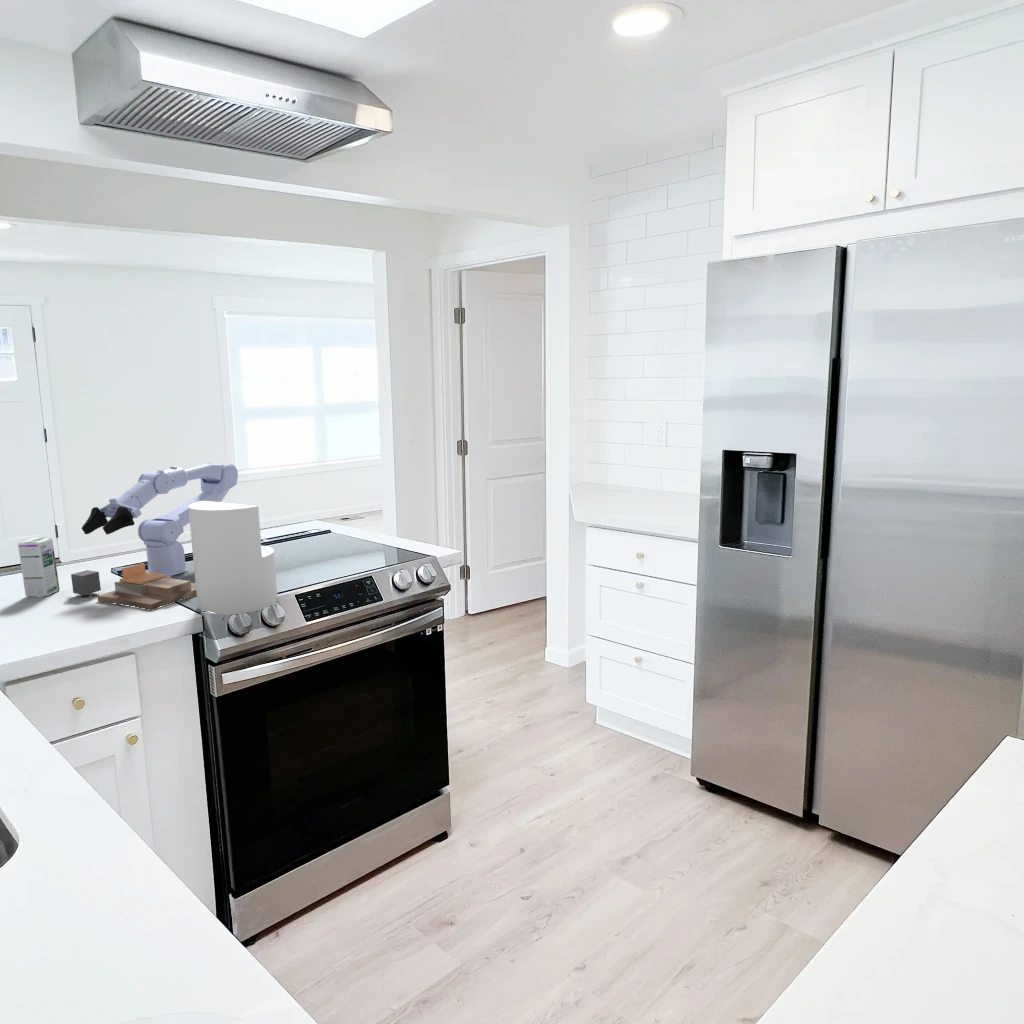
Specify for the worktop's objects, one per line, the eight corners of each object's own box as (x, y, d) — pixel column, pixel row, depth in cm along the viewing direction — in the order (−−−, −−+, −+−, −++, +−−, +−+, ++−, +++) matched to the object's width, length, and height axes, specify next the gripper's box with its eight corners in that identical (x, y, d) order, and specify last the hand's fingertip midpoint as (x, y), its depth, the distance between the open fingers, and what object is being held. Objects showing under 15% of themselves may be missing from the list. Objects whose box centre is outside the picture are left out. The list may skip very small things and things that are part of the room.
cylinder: (230, 619, 181) (221, 513, 176) (181, 606, 191) (171, 505, 186) (293, 598, 196) (286, 500, 191) (245, 588, 206) (238, 494, 202)
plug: (83, 590, 206) (81, 569, 205) (101, 593, 203) (98, 571, 202) (67, 595, 202) (65, 573, 201) (85, 598, 199) (82, 576, 198)
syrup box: (47, 596, 201) (39, 541, 198) (24, 597, 201) (17, 542, 198) (60, 590, 207) (53, 537, 204) (38, 590, 207) (31, 537, 204)
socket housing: (157, 583, 212) (156, 569, 211) (209, 590, 204) (207, 575, 203) (98, 601, 196) (96, 586, 195) (151, 610, 188) (149, 594, 187)
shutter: (146, 573, 206) (145, 562, 205) (166, 576, 203) (165, 564, 202) (119, 581, 199) (118, 569, 198) (140, 584, 196) (139, 572, 195)
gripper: (105, 489, 210) (66, 518, 200) (144, 488, 205) (107, 518, 194) (118, 511, 214) (81, 540, 204) (156, 510, 208) (120, 541, 198)
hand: (94, 531), depth 199 cm, fingers open, 7 cm apart
